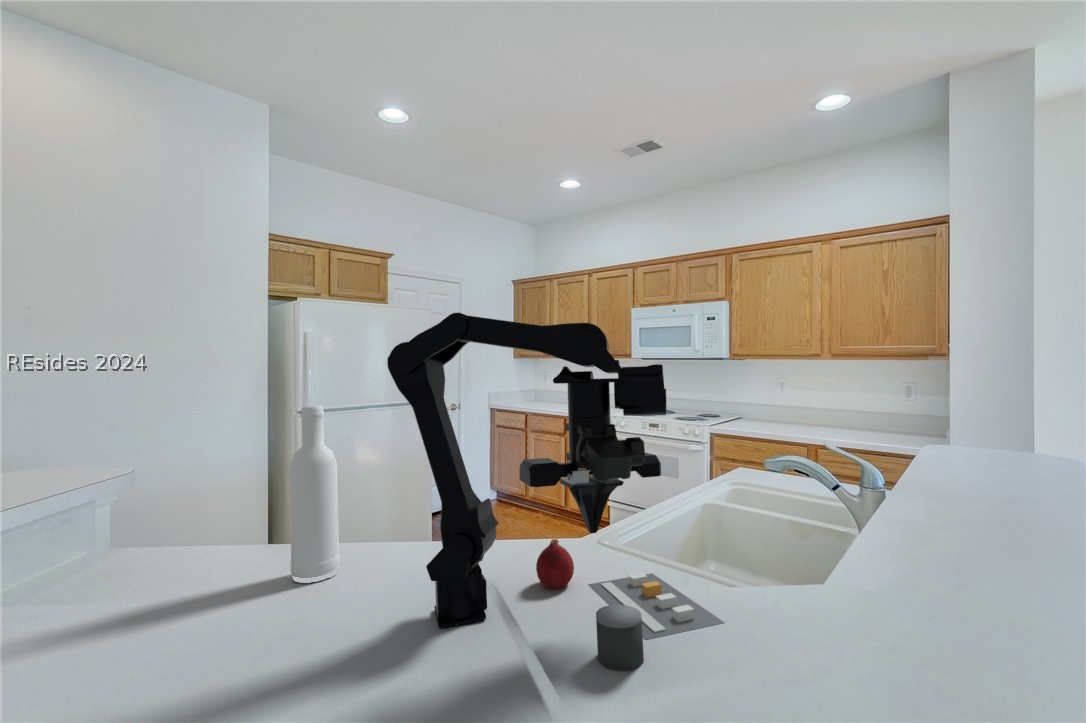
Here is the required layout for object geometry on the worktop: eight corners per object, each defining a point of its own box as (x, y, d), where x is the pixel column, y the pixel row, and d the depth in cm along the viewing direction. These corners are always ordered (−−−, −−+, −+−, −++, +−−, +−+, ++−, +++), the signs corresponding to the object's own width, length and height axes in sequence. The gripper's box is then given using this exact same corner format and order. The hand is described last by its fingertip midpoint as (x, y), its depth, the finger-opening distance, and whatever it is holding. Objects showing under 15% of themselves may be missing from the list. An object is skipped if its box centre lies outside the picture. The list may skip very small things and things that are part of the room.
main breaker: (646, 597, 70) (646, 587, 70) (642, 593, 71) (641, 583, 71) (661, 594, 71) (661, 584, 71) (656, 590, 72) (656, 581, 72)
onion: (572, 601, 73) (569, 545, 73) (533, 599, 74) (531, 545, 74) (577, 585, 78) (574, 534, 79) (541, 584, 80) (539, 533, 80)
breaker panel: (646, 650, 58) (645, 629, 59) (588, 592, 76) (587, 576, 76) (725, 632, 62) (724, 612, 62) (652, 580, 79) (651, 565, 79)
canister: (607, 685, 52) (605, 627, 52) (592, 661, 57) (590, 608, 57) (652, 677, 53) (649, 620, 53) (633, 654, 58) (630, 602, 58)
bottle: (307, 587, 83) (304, 407, 84) (281, 579, 87) (278, 408, 88) (349, 571, 89) (345, 404, 91) (322, 565, 94) (319, 405, 95)
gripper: (542, 423, 57) (545, 561, 56) (682, 416, 63) (686, 541, 62) (517, 418, 68) (519, 534, 67) (639, 412, 74) (642, 519, 73)
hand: (592, 532), depth 67 cm, fingers closed
